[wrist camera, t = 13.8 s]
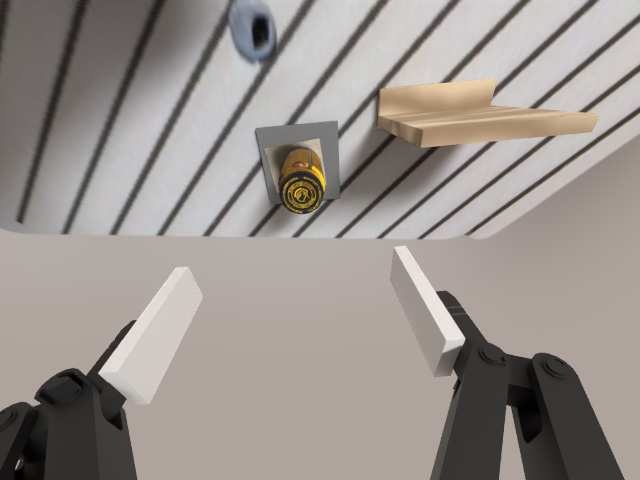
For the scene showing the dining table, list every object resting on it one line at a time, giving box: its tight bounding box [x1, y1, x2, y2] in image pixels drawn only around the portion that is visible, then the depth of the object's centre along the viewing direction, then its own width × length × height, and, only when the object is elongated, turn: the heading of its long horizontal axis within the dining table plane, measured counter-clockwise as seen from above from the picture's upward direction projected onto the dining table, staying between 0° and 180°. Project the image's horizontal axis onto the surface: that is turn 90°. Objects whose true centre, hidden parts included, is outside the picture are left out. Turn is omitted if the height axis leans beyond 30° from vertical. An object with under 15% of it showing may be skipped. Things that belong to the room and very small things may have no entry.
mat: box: [256, 121, 340, 205], centre depth 38 cm, size 12×12×1 cm
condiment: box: [264, 138, 327, 214], centre depth 32 cm, size 7×8×12 cm
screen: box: [377, 78, 600, 148], centre depth 27 cm, size 5×16×16 cm, turn 94°
